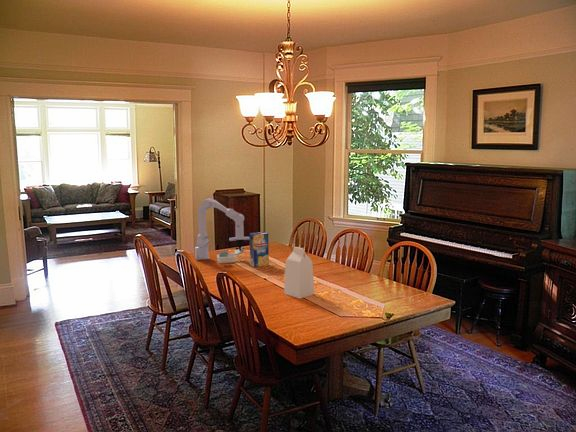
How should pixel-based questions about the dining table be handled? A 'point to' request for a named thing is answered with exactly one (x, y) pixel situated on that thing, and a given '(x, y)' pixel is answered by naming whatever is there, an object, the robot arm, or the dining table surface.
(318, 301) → the dining table surface
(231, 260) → the carton
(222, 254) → the front flap
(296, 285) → the milk
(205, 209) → the robot arm
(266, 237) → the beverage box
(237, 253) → the side flap
